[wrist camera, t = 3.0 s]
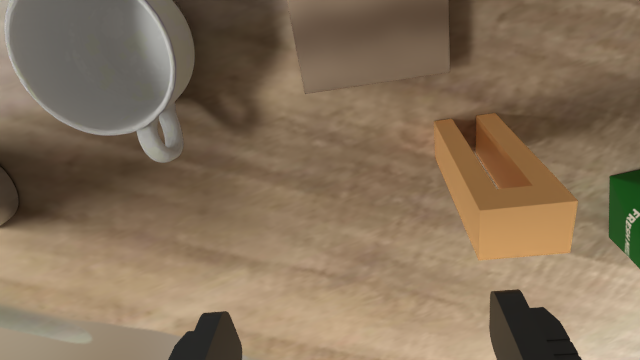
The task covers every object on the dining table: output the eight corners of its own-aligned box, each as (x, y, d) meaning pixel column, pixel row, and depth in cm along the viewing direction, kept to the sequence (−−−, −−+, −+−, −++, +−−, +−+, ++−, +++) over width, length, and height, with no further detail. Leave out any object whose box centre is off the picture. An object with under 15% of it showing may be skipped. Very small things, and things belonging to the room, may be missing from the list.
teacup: (53, -18, 31) (-35, -12, 24) (181, -53, 29) (127, -57, 22) (130, 144, 37) (78, 186, 30) (239, 124, 35) (211, 164, 28)
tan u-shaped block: (493, 150, 35) (570, 252, 23) (435, 157, 36) (478, 260, 23) (494, 113, 33) (578, 200, 21) (433, 121, 34) (479, 210, 22)
